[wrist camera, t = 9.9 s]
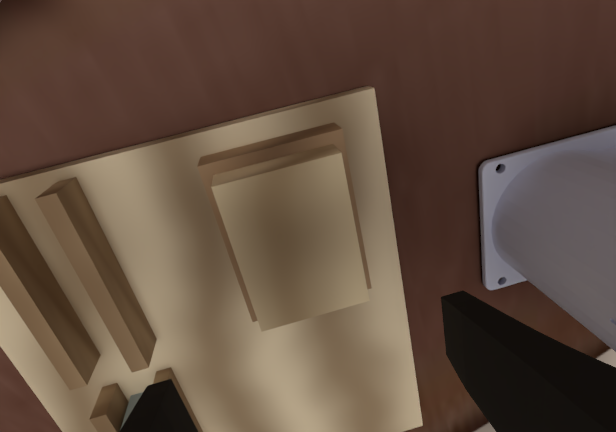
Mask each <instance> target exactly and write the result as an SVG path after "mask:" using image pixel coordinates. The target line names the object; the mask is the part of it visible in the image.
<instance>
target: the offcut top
mask: <svg viewBox="0 0 616 432" xmlns="http://www.w3.org/2000/svg"><path fill="white" fill-rule="evenodd" d="M211 188H212V191H213V194H214V197H215V200H216V202H217V205H218V208H219V211H220V214H221V217H222V220H223V223H224V225H225V228H226V231H227V234H228V237H229V240H230V243H231V246H232V248H233V251H234V254H235V257H236V260H237V263H238V266H239V268H240V271H241V274H242V277H243V280H244V283H245V286H246V289H247V291H248V294H249V297H250V300H251V303H252V306H253V309H254V312H255V314H256V317H257V320H258V323H259V326H260V329H261V332H263V331H266V330H270V329H273V328H277V327H280V326H284V325H287V324H291V323H294V322H298V321H301V320H305V319H308V318H312V317H315V316H319V315H322V314H325V313H329V312H332V311H336V310H339V309H343V308H346V307H350V306H353V305H357V304H360V303H364V302H367V301H370V300H369V295H368V290H367V284H366V279H365V274H364V269H363V263H362V258H361V253H360V248H359V242H358V237H357V232H356V227H355V221H354V216H353V211H352V206H351V200H350V195H349V190H348V185H347V179H346V174H345V169H344V164H343V158H342V153H341V152H340V151H339V150H338V149H337V148H336V147H335V146H334V144H330V145H326V146H322V147H319V148H315V149H311V150H307V151H303V152H300V153H296V154H292V155H288V156H284V157H281V158H277V159H273V160H269V161H265V162H262V163H258V164H254V165H250V166H246V167H242V168H239V169H235V170H231V171H227V172H223V173H220V174H216V175H213V180H212V186H211Z"/></svg>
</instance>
